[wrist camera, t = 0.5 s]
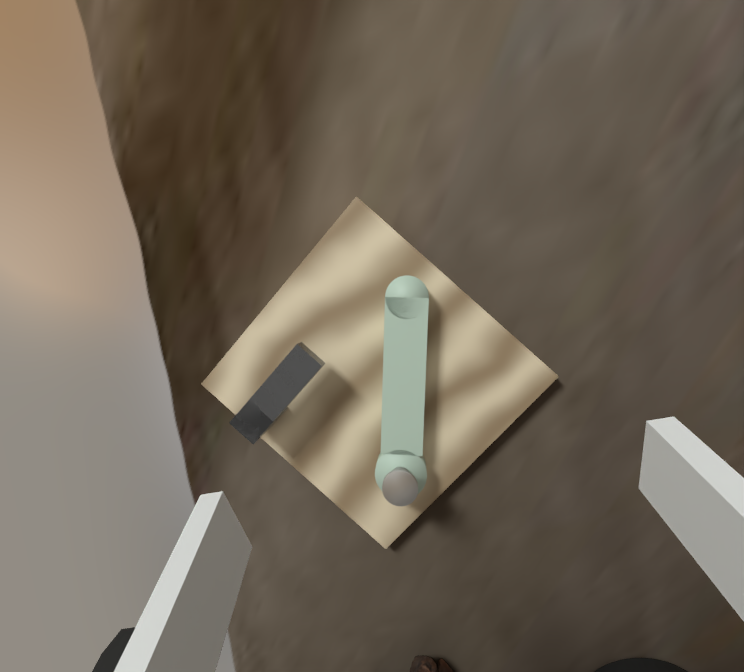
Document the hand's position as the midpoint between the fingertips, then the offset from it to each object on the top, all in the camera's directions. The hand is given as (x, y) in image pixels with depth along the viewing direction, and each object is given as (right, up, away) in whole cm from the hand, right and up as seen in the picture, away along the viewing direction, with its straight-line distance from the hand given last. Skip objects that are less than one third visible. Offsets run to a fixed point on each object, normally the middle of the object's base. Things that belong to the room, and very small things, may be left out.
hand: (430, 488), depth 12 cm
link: (+1, 0, +26) cm, 26 cm away
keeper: (-10, 0, +28) cm, 29 cm away
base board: (-2, +1, +28) cm, 28 cm away
